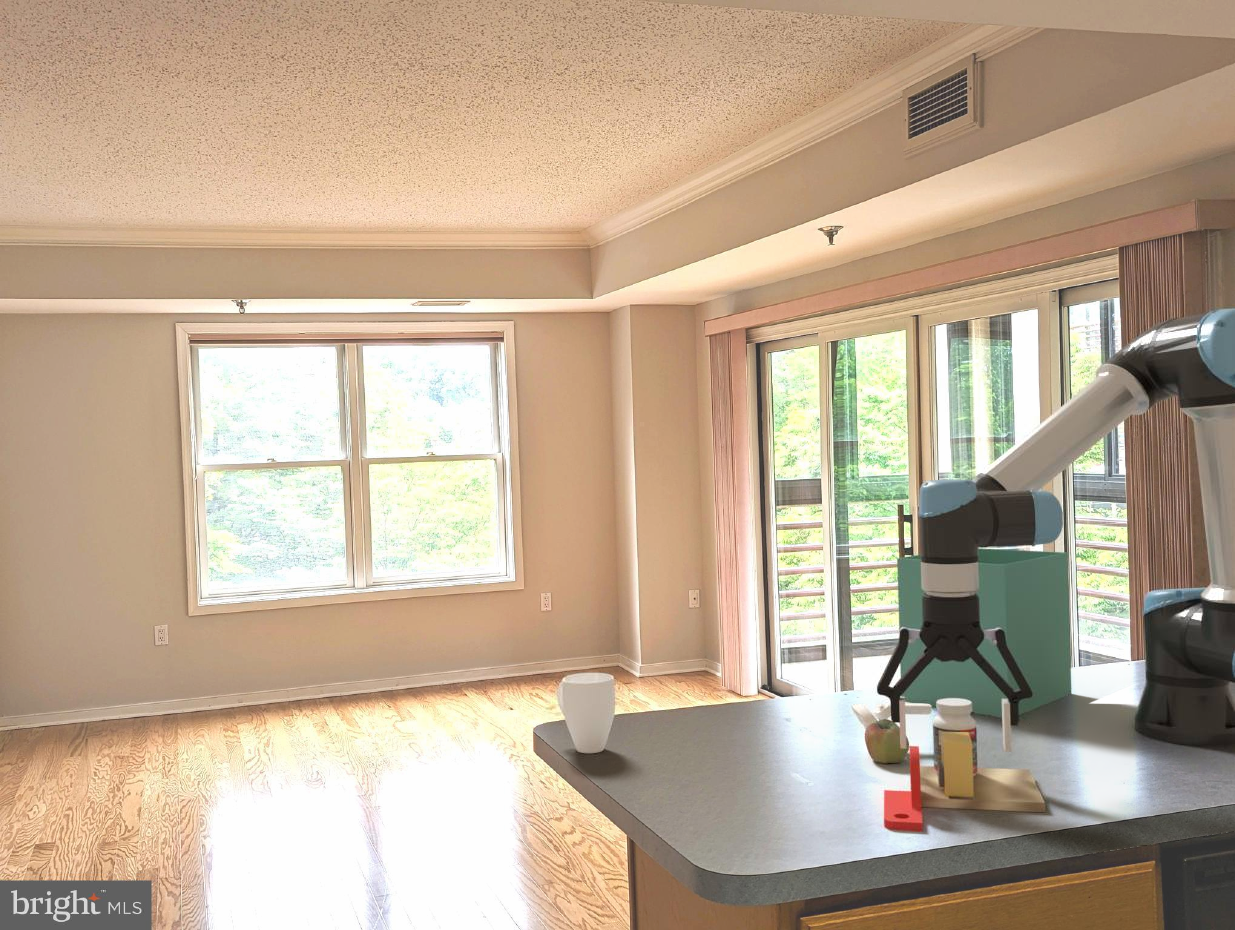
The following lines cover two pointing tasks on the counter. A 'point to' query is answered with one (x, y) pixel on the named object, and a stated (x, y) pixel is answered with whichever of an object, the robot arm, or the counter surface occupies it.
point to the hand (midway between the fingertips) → (954, 747)
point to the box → (1026, 611)
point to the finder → (956, 764)
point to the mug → (588, 709)
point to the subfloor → (986, 791)
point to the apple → (885, 742)
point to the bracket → (905, 801)
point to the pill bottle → (954, 726)
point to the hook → (887, 711)
